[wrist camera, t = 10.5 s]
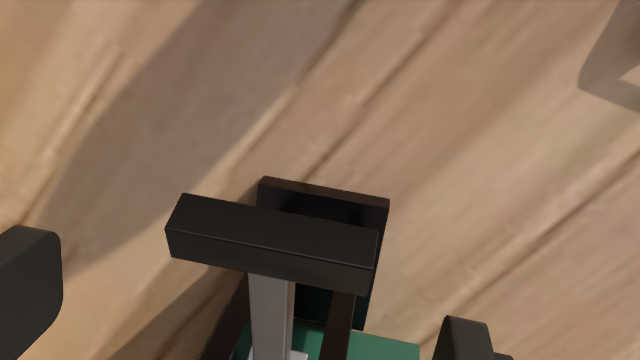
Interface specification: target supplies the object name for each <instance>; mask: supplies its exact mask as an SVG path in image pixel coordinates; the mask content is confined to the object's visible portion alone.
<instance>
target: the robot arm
mask: <svg viewBox="0 0 640 360" xmlns="http://www.w3.org/2000/svg"><path fill="white" fill-rule="evenodd" d="M62 301H63V281H62V262H61V244H60V239H59V236H58V235H57V234H56V233H55V232H51V231H46V230H41V229H37V228H32V227H27V226H22V225H16V226H13V227H11V228H10V229H8V230H7V231H5V232H3V233H2V234H0V360H17V359H18V358H19V357H20V356H21V355H22V354H23V353H24V352H25V351H26V350H27V349H28V348H29V347H30V346H31V345H32V344H33V343H34V342H35V341H36V340H37V339H38V338H39V337H40V336H41V335H42V334H43V333H44V332H45V331H46V330H47V329H48V328H49V327H50V326H51V325H52V323H53V322H54V321H55V319H56V317H57V316H58V314H59V311H60V309H61V306H62ZM432 360H514V359H513V358H512V357H511V356H509V355H504V354H500V353H495V352H493V348H492V344H491V339H490V335H489V331H488V327H487V325H486V324H485V323H482V322H477V321H473V320H468V319H463V318H458V317H454V316H449V315H447V316H446V317H445V318H444V320H443V323H442V326H441V330H440V333H439V337H438V340H437V344H436V347H435V351H434V354H433V358H432Z"/></svg>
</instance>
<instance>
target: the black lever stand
mask: <svg viewBox="0 0 640 360" xmlns="http://www.w3.org/2000/svg"><path fill="white" fill-rule="evenodd" d="M389 206H390V199H386V198H381V197H376V196H370V195H365V194H360V193H354V192H349V191H344V190H338V189H333V188H328V187H322V186H317V185H312V184H306V183H301V182H296V181H290V180H285V179H280V178H274V177H269V176H263V178H262V179H261V180H260V182H259V183H258V192H257V201H256V207H261V208H266V209H271V210H277V211H282V212H287V213H292V214H297V215H303V216H308V217H313V218H318V219H323V220H329V221H334V222H339V223H344V224H349V225H354V226H360V227H365V228H370V229H375V230H378V232H379V234H378V241H377V248H376V254H375V261H374V268H373V273H372V277H371V281H370V285H369V289H368V293H367V295H366V296H359V295H355V294H350V293H345V292H340V291H335V290H330V289H325V288H320V287H315V286H310V285H305V284H300V283H296V282H295V297H294V313H293V317H297V318H302V319H306V320H311V321H316V322H321V323H325V324H326V326H325V331H324V336H323V340H322V345H321V350H320V354H319V359H318V360H347V353H348V346H349V339H350V332H351V329H354V330H359V331H363V330H364V325H365V321H366V316H367V311H368V307H369V302H370V297H371V292H372V288H373V283H374V278H375V274H376V269H377V264H378V260H379V255H380V250H381V246H382V241H383V236H384V231H385V227H386V222H387V217H388V213H389ZM251 344H252V332H251V315H250V298H249V281H248V273H246V272H245V273H244V275H243V277H242V279H241V280H240V282H239V284H238V286H237V288H236V290H235V292H234V294H233V296H232V298H231V300H230V302H229V303H228V305H227V307H226V309H225V311H224V313H223V315H222V317H221V319H220V321H219V323H218V325H217V326H216V328H215V330H214V332H213V334H212V336H211V338H210V340H209V342H208V344H207V346H206V348H205V350H204V351H203V353H202V355H201V357H200V359H199V360H247V357H248V354H249V350H250V347H251Z"/></svg>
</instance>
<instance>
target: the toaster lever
mask: <svg viewBox="0 0 640 360" xmlns="http://www.w3.org/2000/svg"><path fill="white" fill-rule="evenodd" d="M165 233H166V238H167V242H168V246H169V250H170V254H171V257H173V258H178V259H183V260H187V261H192V262H197V263H202V264H207V265H212V266H217V267H222V268H227V269H232V270H237V271H242V272H246V273H248V281H249V298H250V315H251V332H252V344H251V347H250V350H249V354H248V357H247V360H308V357H309V354H308V353H304V352H300V351H295V350H291V345H292V329H293V313H294V297H295V282H296V283H300V284H305V285H310V286H315V287H320V288H325V289H330V290H335V291H340V292H345V293H350V294H355V295H359V296H366V295H367V293H368V289H369V285H370V281H371V277H372V273H373V268H374V261H375V254H376V248H377V241H378V234H379V232H378V230H375V229H370V228H365V227H360V226H354V225H349V224H344V223H339V222H334V221H329V220H323V219H318V218H313V217H308V216H303V215H297V214H292V213H287V212H282V211H277V210H271V209H266V208H261V207H256V206H251V205H245V204H240V203H235V202H230V201H225V200H220V199H214V198H209V197H204V196H199V195H194V194H188V193H182V195H181V197H180V199H179V200H178V202H177V204H176V206H175V208H174V210H173V212H172V214H171V216H170V218H169V220H168V222H167V224H166V226H165Z"/></svg>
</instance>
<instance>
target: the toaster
mask: <svg viewBox="0 0 640 360" xmlns="http://www.w3.org/2000/svg"><path fill="white" fill-rule="evenodd" d="M226 307H227V305H226V306H225V308H224V310H223V312H222V314H221V315H220V317H219V319H218V321H217V323H216V325H215V327H214V329H213V331H212V333H211V334H210V336H209V338H208V340H207V342H206V344H205V346H204V348H203V350H202V352H201V353H200V355H199V357H198V359H197V360H199V359H200V357H201V355H202V353H203V351H204V350H205V348H206V346H207V344H208V342H209V340H210V338H211V336H212V334H213V332H214V330H215V328H216V326H217V325H218V323H219V321H220V319H221V317H222V315H223V313H224V311H225V309H226ZM325 326H326V325H321V324H316V323H312V322H307V321H302V320H297V319H293V329H292V345H291V350H295V351H300V352H304V353H308V354H309V357H308V360H318V359H319V354H320V350H321V345H322V340H323V336H324V331H325ZM347 360H420V356H419V345H417V344H412V343H407V342H402V341H398V340H393V339H388V338H383V337H378V336H374V335H369V334H364V333H359V332H355V331H351V332H350V339H349V346H348V353H347Z"/></svg>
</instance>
